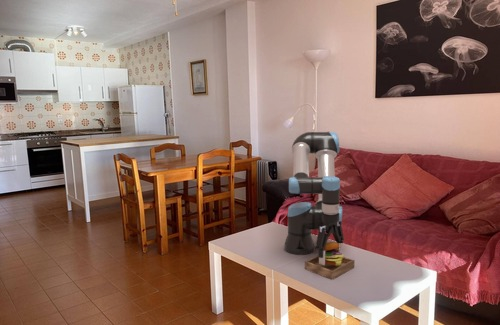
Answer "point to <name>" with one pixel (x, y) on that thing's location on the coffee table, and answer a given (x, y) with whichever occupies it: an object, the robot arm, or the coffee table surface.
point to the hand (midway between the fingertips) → (329, 260)
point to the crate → (329, 267)
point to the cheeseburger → (333, 254)
